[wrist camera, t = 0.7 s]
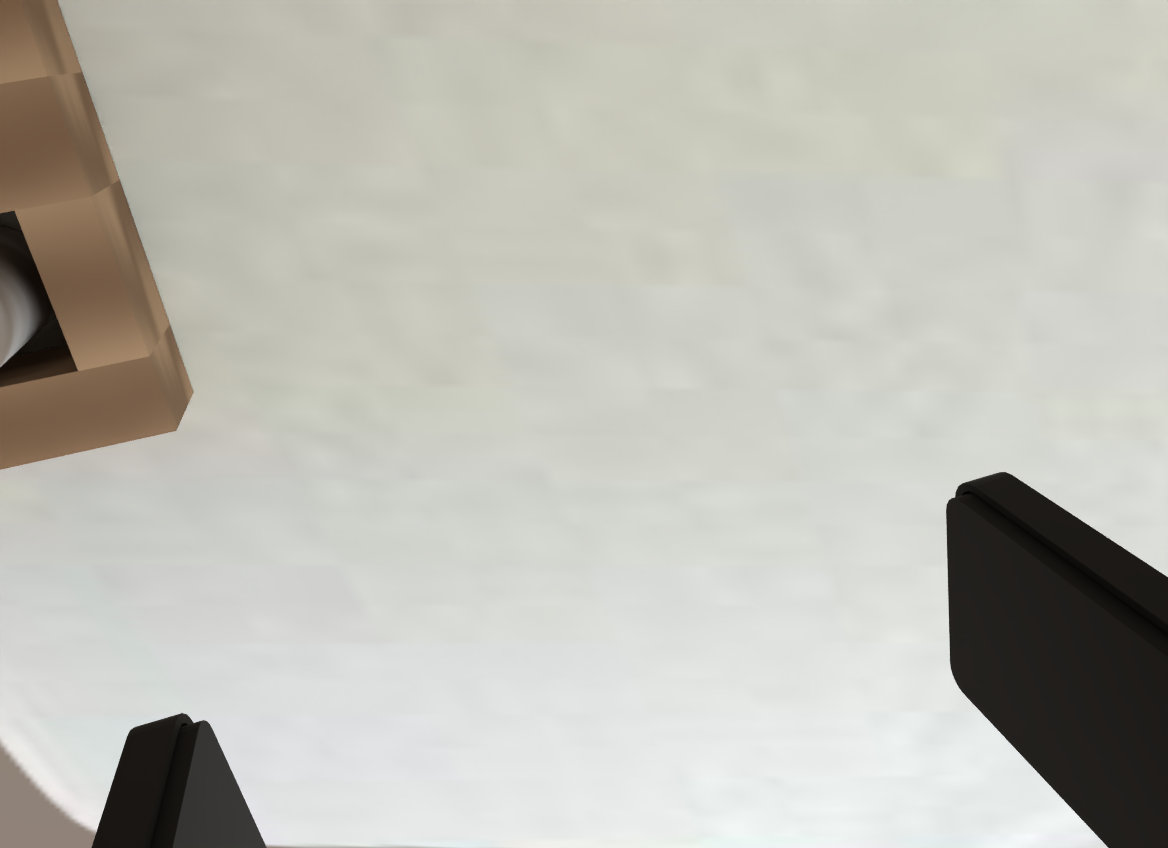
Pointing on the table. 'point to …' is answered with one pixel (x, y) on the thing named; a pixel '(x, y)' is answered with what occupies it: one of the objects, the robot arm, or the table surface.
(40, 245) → the holder block
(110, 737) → the table surface
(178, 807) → the robot arm
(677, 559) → the table surface
